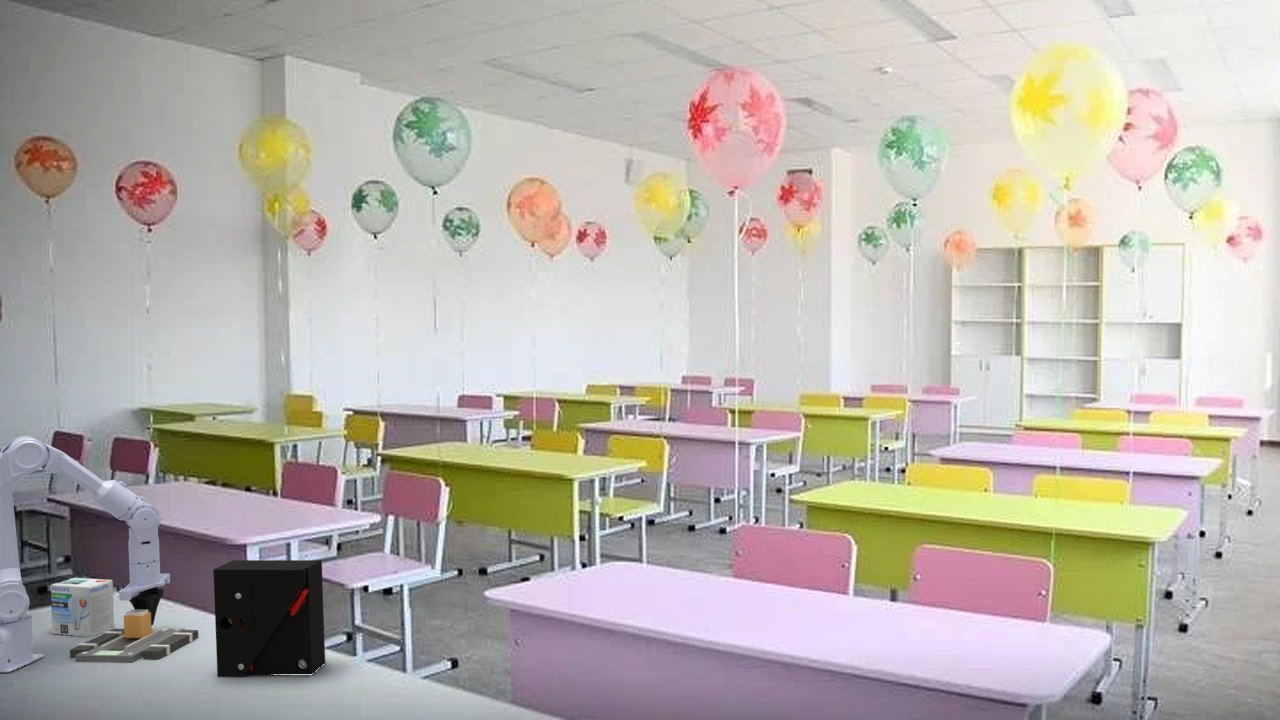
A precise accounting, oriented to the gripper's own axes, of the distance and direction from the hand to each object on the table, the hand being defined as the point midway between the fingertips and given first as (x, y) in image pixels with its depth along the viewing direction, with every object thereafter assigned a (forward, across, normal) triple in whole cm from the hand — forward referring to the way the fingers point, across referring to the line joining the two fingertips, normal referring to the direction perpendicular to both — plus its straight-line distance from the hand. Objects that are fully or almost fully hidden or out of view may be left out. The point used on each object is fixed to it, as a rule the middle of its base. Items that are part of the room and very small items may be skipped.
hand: (147, 625), depth 214 cm
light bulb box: (+3, +5, +18) cm, 19 cm away
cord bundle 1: (+3, -5, +7) cm, 9 cm away
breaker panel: (+3, -5, 0) cm, 6 cm away
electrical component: (+3, -16, -36) cm, 40 cm away
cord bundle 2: (+3, -5, -8) cm, 10 cm away
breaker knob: (+1, -3, 0) cm, 3 cm away
